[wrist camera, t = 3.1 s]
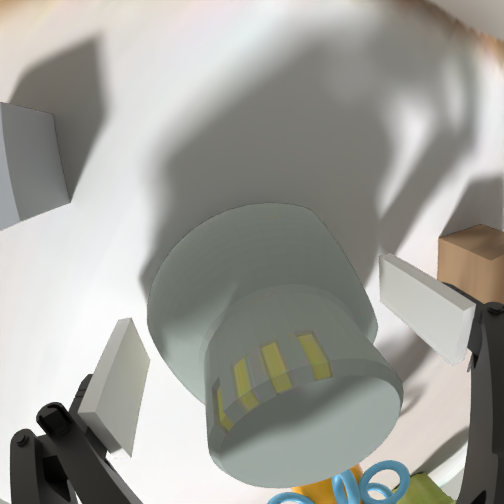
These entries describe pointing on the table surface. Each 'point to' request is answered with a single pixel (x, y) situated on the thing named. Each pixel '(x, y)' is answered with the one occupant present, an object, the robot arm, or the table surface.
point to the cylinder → (349, 487)
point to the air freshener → (274, 345)
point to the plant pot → (424, 492)
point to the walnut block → (474, 262)
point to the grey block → (28, 165)
